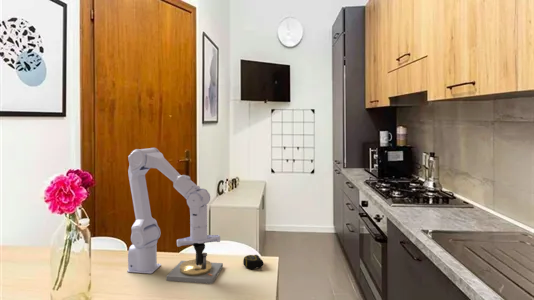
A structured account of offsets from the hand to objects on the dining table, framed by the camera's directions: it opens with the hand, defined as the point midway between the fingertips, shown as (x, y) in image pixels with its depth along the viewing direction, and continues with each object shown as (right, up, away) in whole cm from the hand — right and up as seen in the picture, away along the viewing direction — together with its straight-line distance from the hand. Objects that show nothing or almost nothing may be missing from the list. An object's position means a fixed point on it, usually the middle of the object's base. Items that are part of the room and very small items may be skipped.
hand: (198, 264), depth 124 cm
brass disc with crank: (-2, -3, +4) cm, 5 cm away
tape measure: (+19, -5, +11) cm, 22 cm away
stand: (-2, -5, +4) cm, 7 cm away
